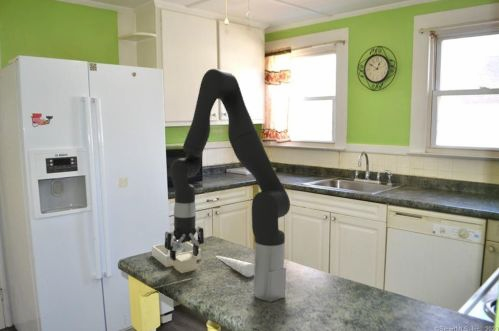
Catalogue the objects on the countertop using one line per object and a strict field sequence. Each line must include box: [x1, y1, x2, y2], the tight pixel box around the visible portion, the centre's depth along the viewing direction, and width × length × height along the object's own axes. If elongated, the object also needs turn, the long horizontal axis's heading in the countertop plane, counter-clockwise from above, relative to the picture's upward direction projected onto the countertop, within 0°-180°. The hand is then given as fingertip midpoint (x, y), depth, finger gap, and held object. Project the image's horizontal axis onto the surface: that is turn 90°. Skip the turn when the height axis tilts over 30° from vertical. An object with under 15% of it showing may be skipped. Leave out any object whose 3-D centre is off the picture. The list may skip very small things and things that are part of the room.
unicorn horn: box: [215, 255, 254, 278], centre depth 145 cm, size 5×24×5 cm, turn 34°
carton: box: [173, 253, 198, 274], centre depth 140 cm, size 6×6×5 cm
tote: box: [151, 242, 202, 268], centre depth 151 cm, size 14×14×4 cm
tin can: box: [167, 236, 185, 256], centre depth 150 cm, size 7×7×7 cm
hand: (184, 257), depth 140 cm, fingers open, 8 cm apart
